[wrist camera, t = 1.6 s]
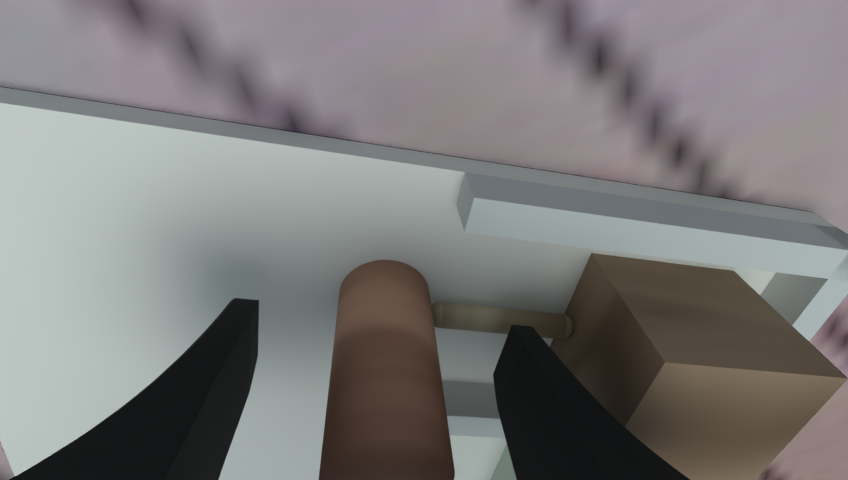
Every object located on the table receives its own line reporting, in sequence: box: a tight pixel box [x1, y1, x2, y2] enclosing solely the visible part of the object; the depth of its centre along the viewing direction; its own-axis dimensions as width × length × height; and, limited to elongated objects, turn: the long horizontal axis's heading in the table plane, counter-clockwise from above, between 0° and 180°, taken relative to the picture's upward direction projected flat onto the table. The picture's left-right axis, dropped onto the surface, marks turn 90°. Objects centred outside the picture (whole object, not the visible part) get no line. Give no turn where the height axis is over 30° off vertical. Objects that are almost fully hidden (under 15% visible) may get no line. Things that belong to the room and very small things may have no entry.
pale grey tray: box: [0, 87, 848, 480], centre depth 17 cm, size 17×26×2 cm, turn 79°
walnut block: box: [319, 253, 848, 480], centre depth 13 cm, size 5×12×6 cm, turn 79°
